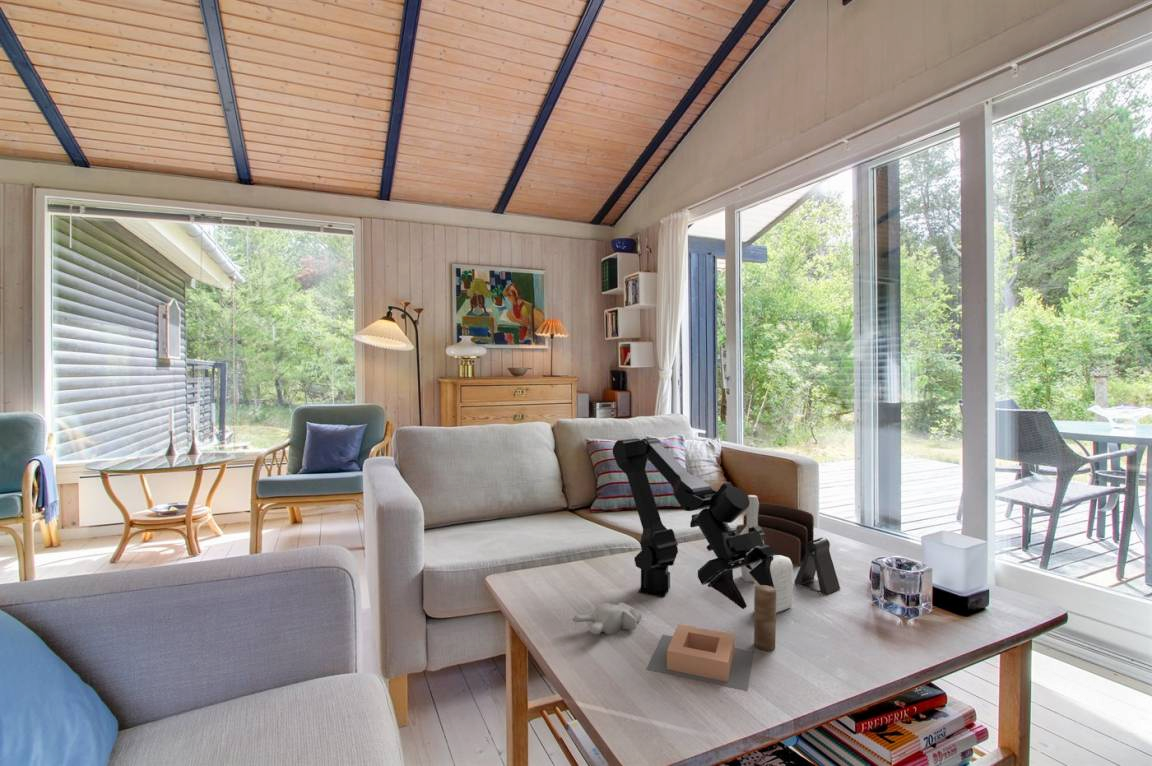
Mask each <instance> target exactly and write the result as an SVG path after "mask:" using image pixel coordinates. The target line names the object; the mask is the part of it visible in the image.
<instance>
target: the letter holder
mask: <svg viewBox="0 0 1152 766" xmlns="http://www.w3.org/2000/svg"><path fill="white" fill-rule="evenodd" d="M758 502H759V501H758ZM742 519H743V520H742V521H743V523H742V524H738V525H736V527H735V530H737V531H738V532H739V533H741V532H742V531H743V530H744V528H745V527H746V526H747V513H746V514H744V515H743V518H742ZM814 521H815V519H814V515H813V514H812V513H810V512H809V511H806V510H802V509H799V508H796V507H792V506H788V505H783V504H777V503H770V502H761V501H760V502H759V509H758V525H759V526H760V528H761V529H762V530H763V531H764V533H765V535H766V536H765V537H766V538H765V540H764V545H769V546H771V548H772V549H773V551H774V552H775V555H781V556H785V557H788V558H789V559H790V560H791V562H792V565H793V566H796V565H797V567H800V566H801V564H802V561H803V559H804V556H805V554H806V544H807V543H808V542H810V541H813V540H815V538H814V535H815V533H814V529H815V527H814V526H815V525H814V524H815V523H814ZM775 555H774V556H775Z"/></svg>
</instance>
